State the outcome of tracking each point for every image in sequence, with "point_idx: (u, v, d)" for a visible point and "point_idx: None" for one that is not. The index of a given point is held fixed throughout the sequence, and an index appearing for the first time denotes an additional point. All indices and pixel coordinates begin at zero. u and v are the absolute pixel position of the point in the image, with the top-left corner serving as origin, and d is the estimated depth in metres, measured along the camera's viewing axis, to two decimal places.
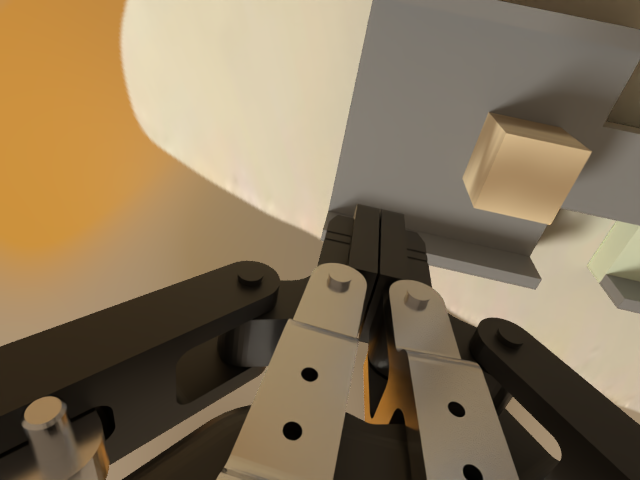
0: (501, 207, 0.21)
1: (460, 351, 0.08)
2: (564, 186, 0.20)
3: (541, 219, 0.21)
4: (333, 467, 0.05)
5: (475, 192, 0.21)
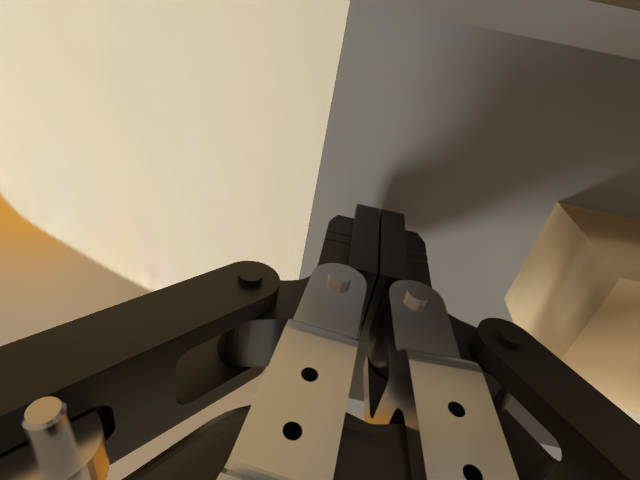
0: None
1: (460, 351, 0.08)
2: None
3: None
4: (333, 466, 0.05)
5: None
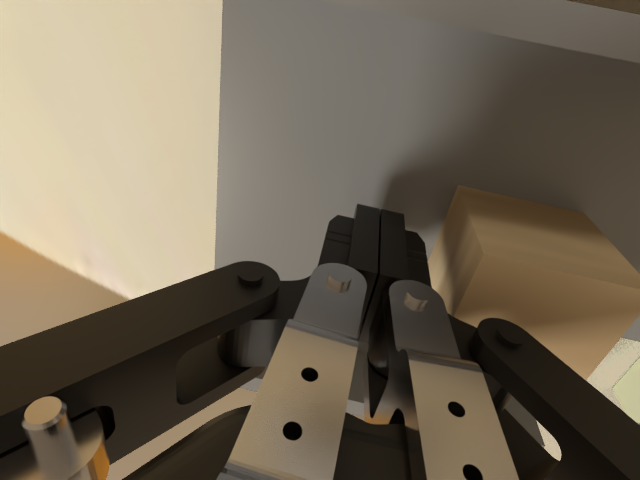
0: None
1: (460, 351, 0.08)
2: (596, 346, 0.10)
3: None
4: (333, 467, 0.05)
5: None
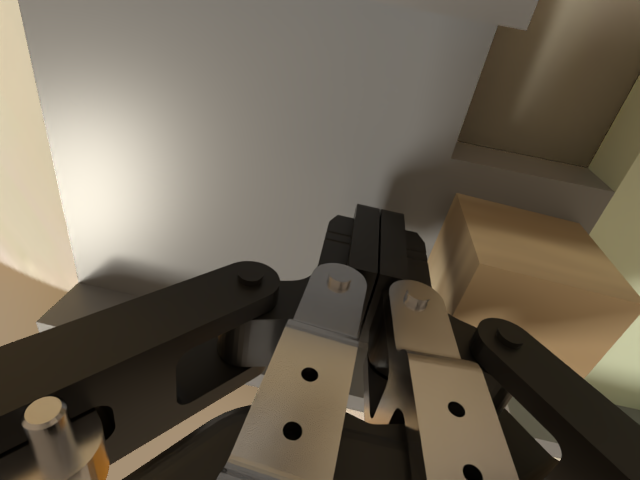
0: None
1: (460, 351, 0.08)
2: (587, 354, 0.10)
3: None
4: (333, 467, 0.05)
5: None
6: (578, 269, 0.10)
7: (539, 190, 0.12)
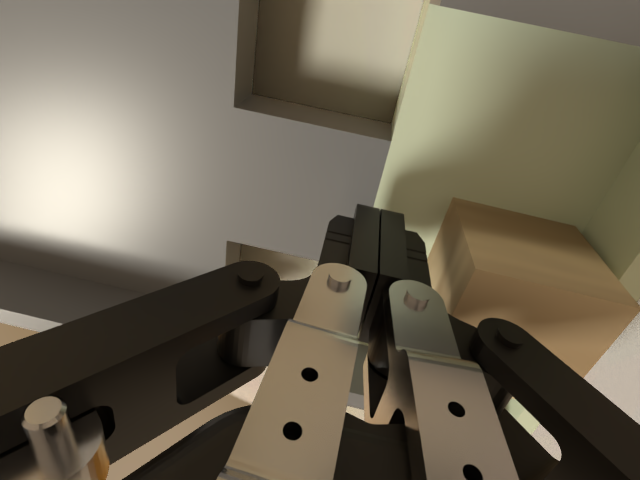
0: None
1: (460, 351, 0.08)
2: (583, 357, 0.10)
3: None
4: (333, 467, 0.05)
5: None
6: (573, 273, 0.10)
7: (322, 139, 0.13)
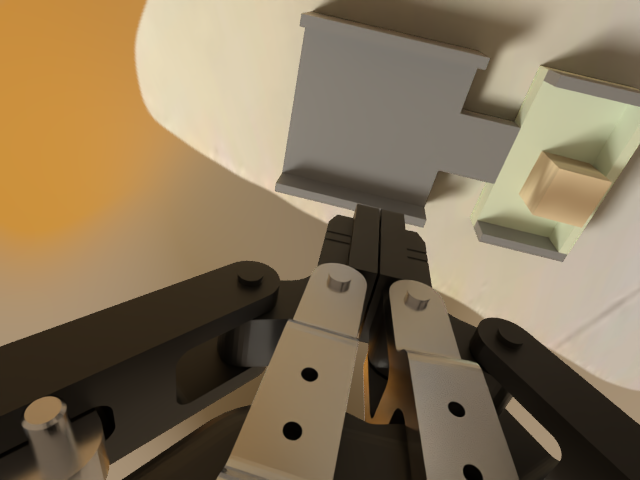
0: (551, 215, 0.31)
1: (460, 351, 0.08)
2: (593, 203, 0.30)
3: (576, 223, 0.31)
4: (333, 467, 0.05)
5: (533, 204, 0.32)
6: (590, 173, 0.30)
7: (493, 127, 0.32)
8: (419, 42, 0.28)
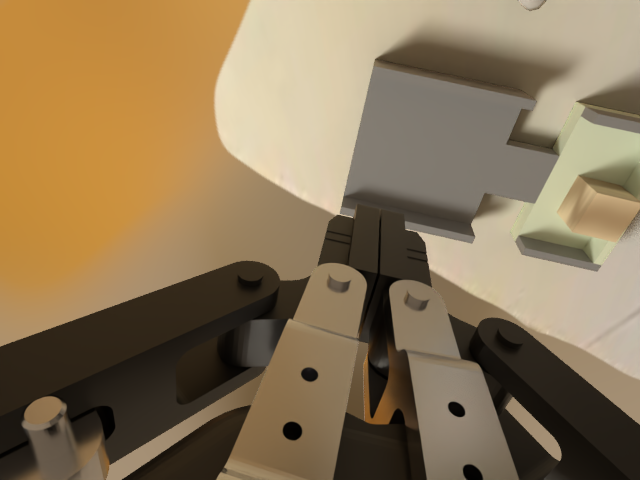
0: (588, 232, 0.36)
1: (460, 351, 0.08)
2: (626, 221, 0.35)
3: (611, 239, 0.36)
4: (333, 467, 0.05)
5: (572, 223, 0.36)
6: (623, 195, 0.35)
7: (535, 155, 0.37)
8: (475, 88, 0.33)
